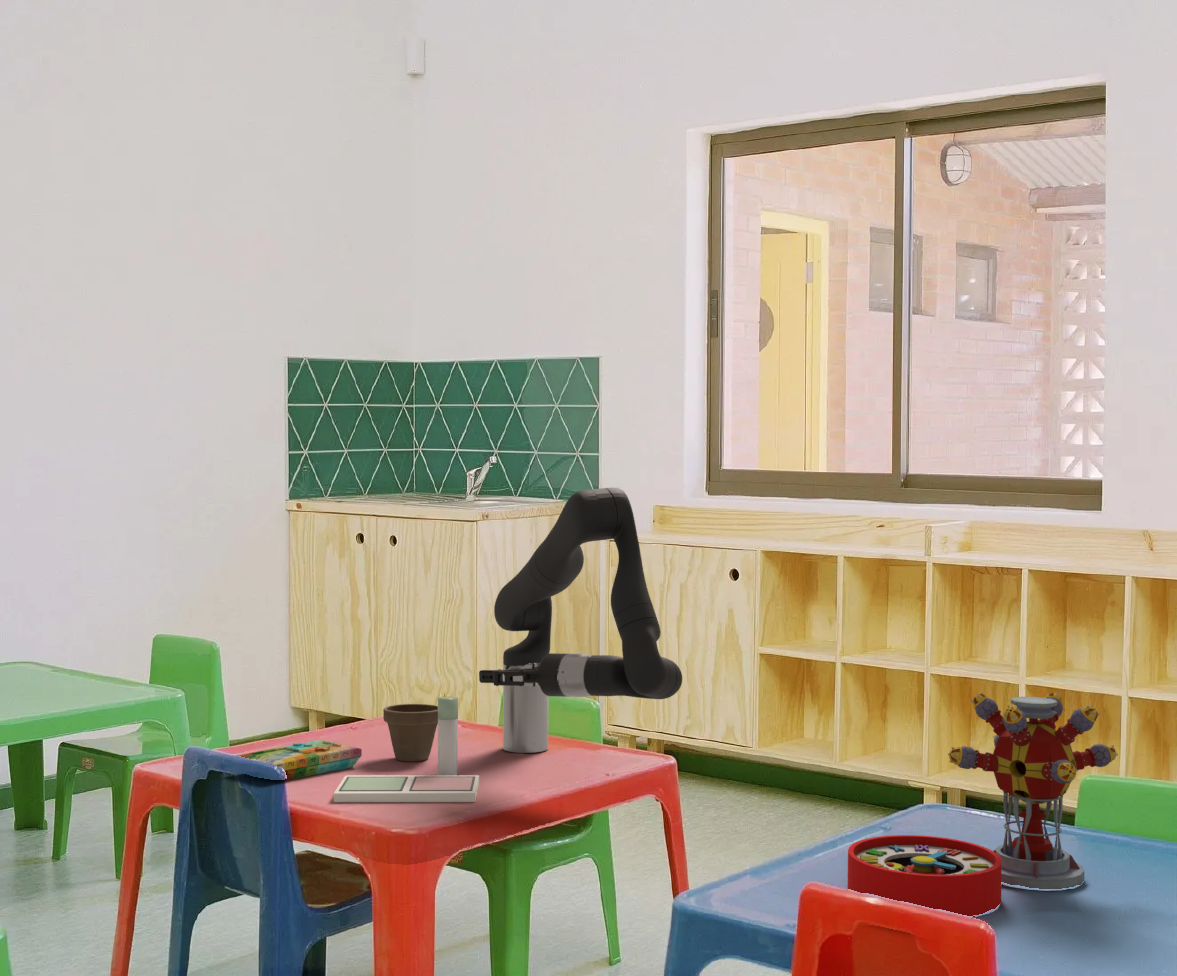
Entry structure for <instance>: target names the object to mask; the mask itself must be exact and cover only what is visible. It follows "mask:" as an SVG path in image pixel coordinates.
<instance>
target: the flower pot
mask: <svg viewBox="0 0 1177 976" xmlns="http://www.w3.org/2000/svg"><path fill="white" fill-rule="evenodd" d="M382 715H383V718H382V719H383V721H384V722H385V723H387V727H388V731H389V736H390V741H391V745H392V751H393V753H394V757H395V759H396V761H397V760H398V761H400V762H410V763H412V762H423V761H426V760H428V759H429V758H430V754H431V751H432V748H433V743H434V740H435V739H434V738H435V734H436V730H437V728H438V705H434V704H428V703H427V704H425V703H404V704H402V703H401V704H392V705H388V706H385V707H384V708H383V714H382Z"/></svg>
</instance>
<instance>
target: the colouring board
mask: <svg viewBox="0 0 1177 976" xmlns="http://www.w3.org/2000/svg"><path fill="white" fill-rule="evenodd" d="M479 785H480V774H479V775H478V774H469V775H467V774H465V775H464V774H463V775H461V774H457V775H438V774H437V775H436V774H433V775H432V774H429V775H427V774H426V775H424V774H422V775H420V774H417V775H413V774H412V775H410V774H409V775H408V774H407V775H406V774H405V775H401V774H400V775H399V774H398V775H395V774H391V775H389V774H387V775H378V774H377V775H372V774H371V775H369V774H368V775H363V774H362V775H359V774H358V775H349V774H347V775H346V774H345V775H344V777H343V778H342V780H341V781H340V783H339V785H338V786H337V788H336V789H335V791H334V792H333V803H476V800H477V795H478V790H479V787H480V786H479Z"/></svg>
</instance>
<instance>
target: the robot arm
mask: <svg viewBox="0 0 1177 976" xmlns="http://www.w3.org/2000/svg"><path fill="white" fill-rule="evenodd" d="M607 540H613V541H614V543H615V545H616V546H615V547H616V549H617V554H618V563H617V568H616V573H615V577H614V579H613V580H614V581H613V584H612V587H611V594H610V606H611V608H610V609H611V612H612V614H613V618H614V622H615V625H616V627H617V631H618V633H619V637H620V639H621V652H622V656H618V655H611V654H610V655H609V654H608V655H607V654H605V655H602V654H597V655H596V654H586V653H560V652H559V653H558V652H557V653H552V652H551V653H550V651H551V635H552V619H553V618H552V617H553V603H552V601H553V600H552V597H553V596H556V595H558V594H560V593H562V592H563V591H565V590H566V589H567V588H568V587H570V586H571V584H572V583H573V582H574V581H575V579H576V578H577V577H579V575H580V573H581V572H582V569H583V568H584V562H585V561H584V560H585V558H584V557H585V556H584V552H583V549H582V547H581V545H583V544H585V543H589V542H598V541H607ZM640 548H641V547H640V543H639V537H638V533H637V526H636V520H635V517H634V512H633V508H632V505H631V502H630V498H629V497H628V495H627V494H626V492H625V491H624V490H623V489H621V488H619V487H603V488H591V489H581V490H579V491H576V492H574V493H573V494H571V496H570V497H569V498H568V500H567V501H566V503H565V504H564V506H563V508H562V509H561V512H560V514H559V516H558V517H557V520H556V522H555V524H554V525H553V527H552V528H551V530H550V531H549V533H548V534H547V535H546V537H545V539H544V540H543V541H542V542H541V544H539V545H538V547H537V548H536V550H535V551H534V552H533V554H532V555H531V557H530V558H529V560H528V561H527V562H526V564H525V565H524V566H522V568H521V570H520V571H519V572H518V573H517V574H516V575H514V577H513V578H512V579H510V580H508V582H507V583H506V584H505V585H504V586H503V587H502V588H500V590H499V592H498V594H497V596H496V598H495V602H494V606H493V607H494V609H493V613H494V614H493V615H494V619H495V622H496V624H497V625H498V626H499V627H500V628H501V629H502V630H505V631H508V632H527V631H528V634H527V635H526V637H525V638H524V639H523V640H522V641H520V642H519V643H517V644H516V645H513V646H511V647H508V648H506V649H505V650H504V651H503V655H502V656H503V659H502V665H503V666H502V667H503V669H501V668H500V669H499V668H498V669H481V670H479V671H478V677H479V679H478V680H479V682H480V684H481V683H482V684H493V686H496V687H500V686H502V750H504V751H506V752H509V753H510V752H511V753H517V754H519V753H520V754H521V753H522V754H525V753H527V754H530V753H531V754H533V753H541V752H544V751H548V750H549V708H550V707H549V697H559V698H560V697H561V698H562V697H564V698H565V697H566V698H586V697H617V696H618V697H623V696H624V697H629V698H630V697H631V698H638V699H640V698H641V699H649V700H665V699H669V698H672V697H673V696H675V694H677V693H678V692H679V690H680V688H681V687H682V684H683V674H682V673H683V672H682V671H681V668H680V666H678V665H677V663H675V662H674V661H673V660H671V659H668V658H667V657H663V656H661V654H660V652H659V648H658V643H657V642H658V641H659V639H660V637H661V627H660V623H659V620H658V617H657V615H656V612H655V609H654V605H653V603H652V600H651V597H650V596H651V595H650V593H649V589H648V585H647V583H646V578H645V572H644V565H643V561H642V559H643V558H642V554H641V549H640Z"/></svg>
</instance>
